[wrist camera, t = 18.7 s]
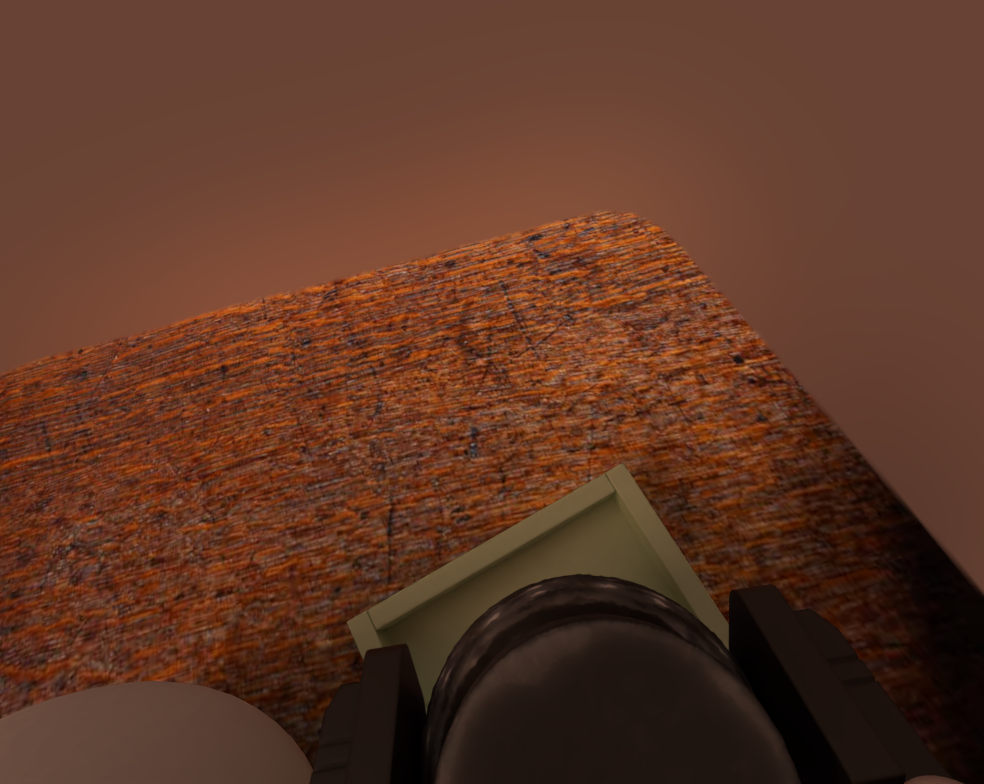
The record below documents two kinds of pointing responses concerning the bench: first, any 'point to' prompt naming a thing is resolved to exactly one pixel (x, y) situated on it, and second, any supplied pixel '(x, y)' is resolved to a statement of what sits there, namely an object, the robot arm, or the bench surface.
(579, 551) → the sage tray
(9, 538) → the bench surface
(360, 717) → the robot arm
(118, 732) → the decorative egg
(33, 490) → the bench surface
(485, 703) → the pill bottle
